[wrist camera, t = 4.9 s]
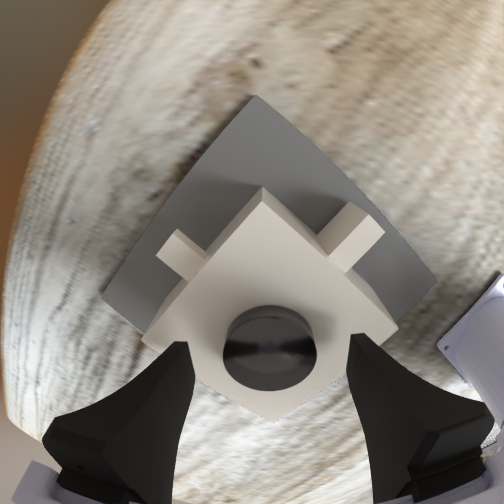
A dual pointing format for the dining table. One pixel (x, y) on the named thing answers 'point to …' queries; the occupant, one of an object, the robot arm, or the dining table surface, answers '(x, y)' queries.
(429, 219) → the dining table surface
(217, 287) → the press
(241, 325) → the plunger
